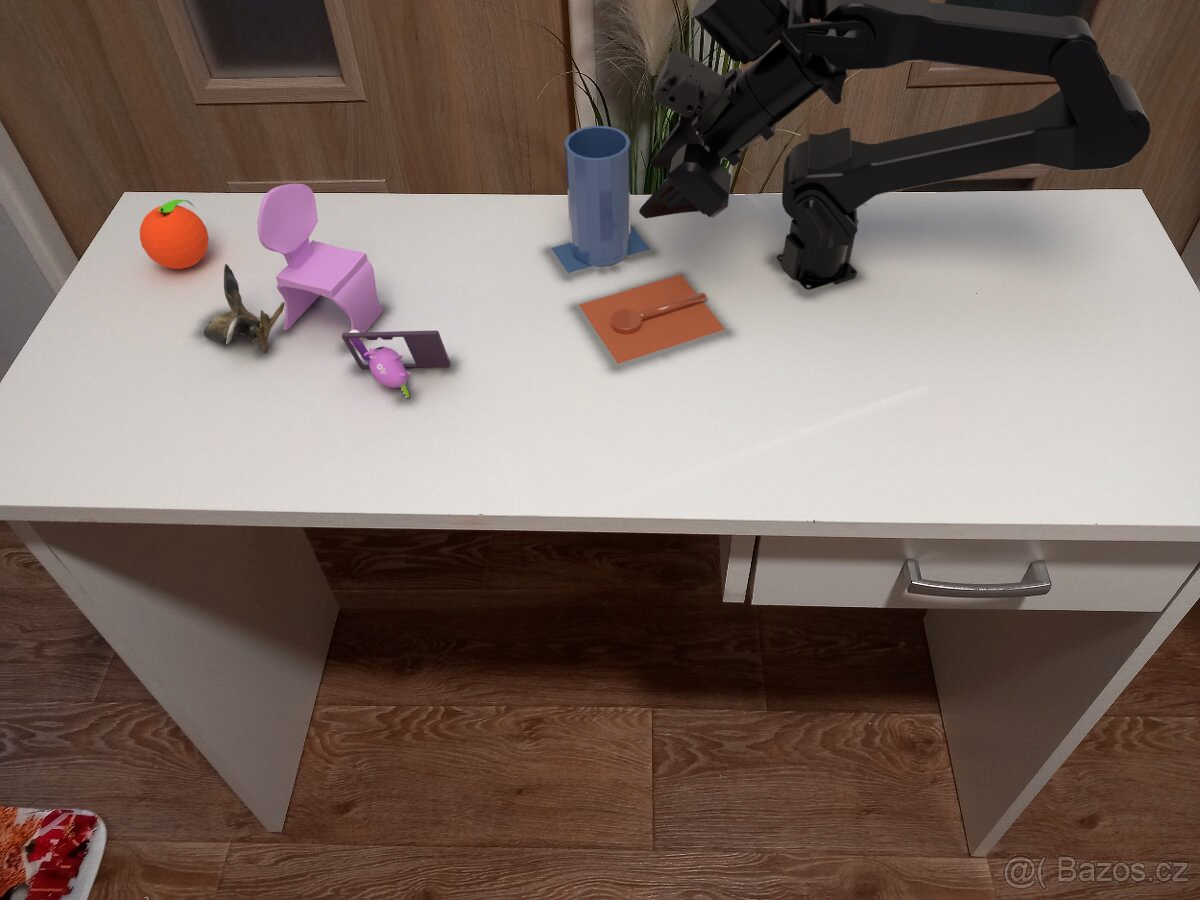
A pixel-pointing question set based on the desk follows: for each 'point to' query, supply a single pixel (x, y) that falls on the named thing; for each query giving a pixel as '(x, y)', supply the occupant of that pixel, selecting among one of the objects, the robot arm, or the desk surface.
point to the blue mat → (573, 265)
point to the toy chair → (314, 260)
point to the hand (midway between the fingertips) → (647, 189)
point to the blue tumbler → (599, 194)
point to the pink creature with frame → (387, 361)
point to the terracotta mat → (651, 319)
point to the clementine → (174, 236)
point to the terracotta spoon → (648, 314)
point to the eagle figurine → (240, 317)
